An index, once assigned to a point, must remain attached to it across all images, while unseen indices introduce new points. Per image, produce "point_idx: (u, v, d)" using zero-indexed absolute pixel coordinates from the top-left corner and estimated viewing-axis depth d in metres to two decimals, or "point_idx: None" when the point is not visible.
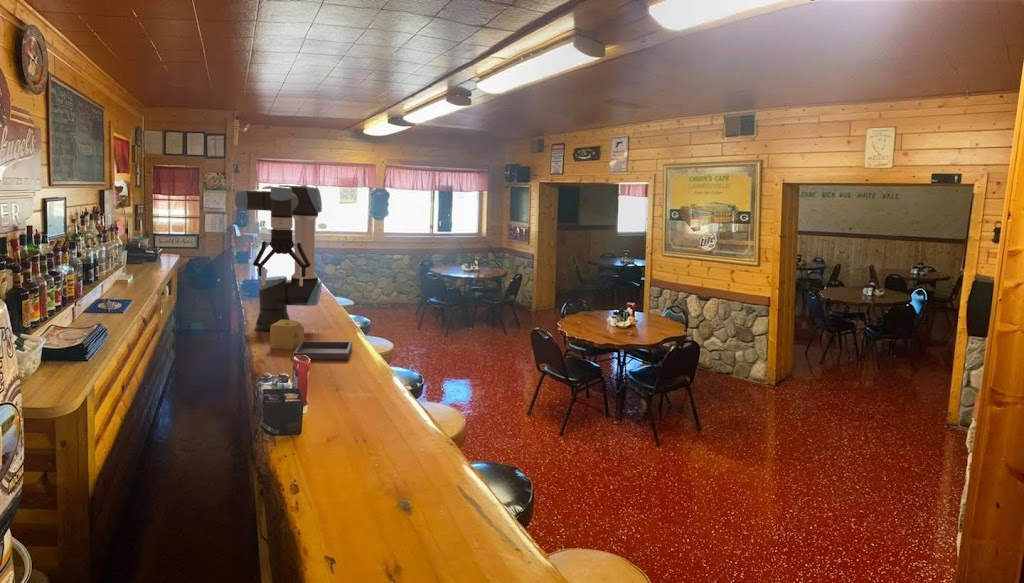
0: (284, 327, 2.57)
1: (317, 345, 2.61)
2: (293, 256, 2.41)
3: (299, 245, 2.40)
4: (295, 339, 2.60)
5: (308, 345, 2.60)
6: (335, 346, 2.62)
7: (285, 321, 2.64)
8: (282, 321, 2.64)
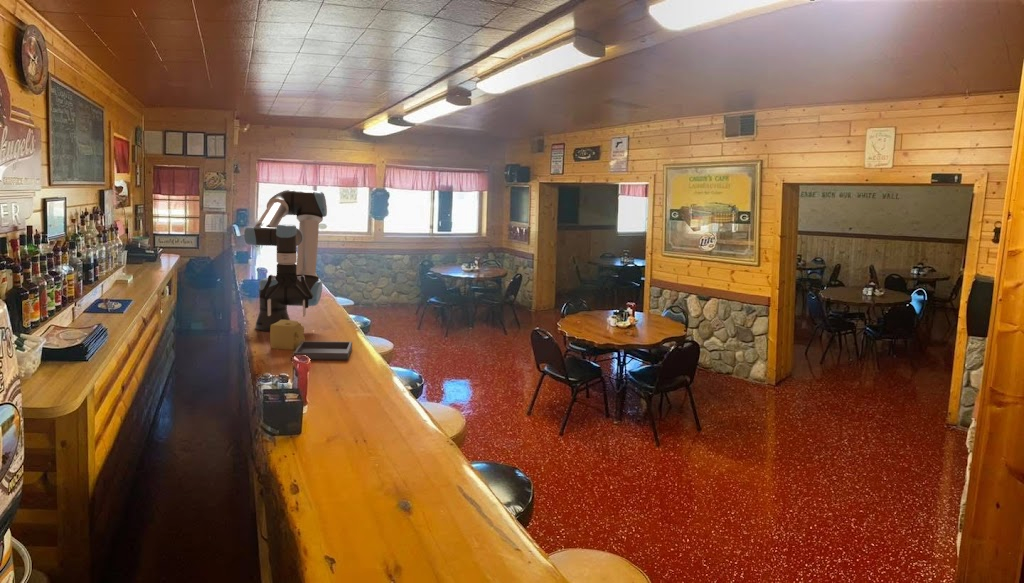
0: (284, 327, 2.57)
1: (317, 345, 2.61)
2: (297, 289, 2.58)
3: (303, 278, 2.58)
4: (295, 339, 2.60)
5: (308, 345, 2.60)
6: (335, 346, 2.62)
7: (285, 321, 2.64)
8: (282, 321, 2.64)
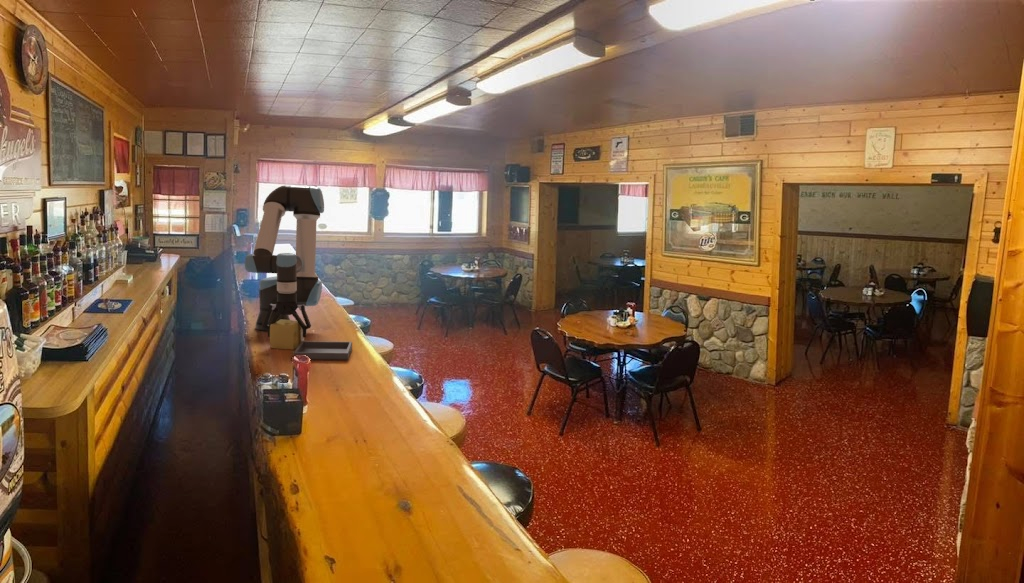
0: (284, 327, 2.57)
1: (317, 345, 2.61)
2: (296, 318, 2.60)
3: (303, 308, 2.60)
4: (295, 339, 2.60)
5: (308, 345, 2.60)
6: (335, 346, 2.62)
7: (285, 320, 2.64)
8: (282, 321, 2.63)
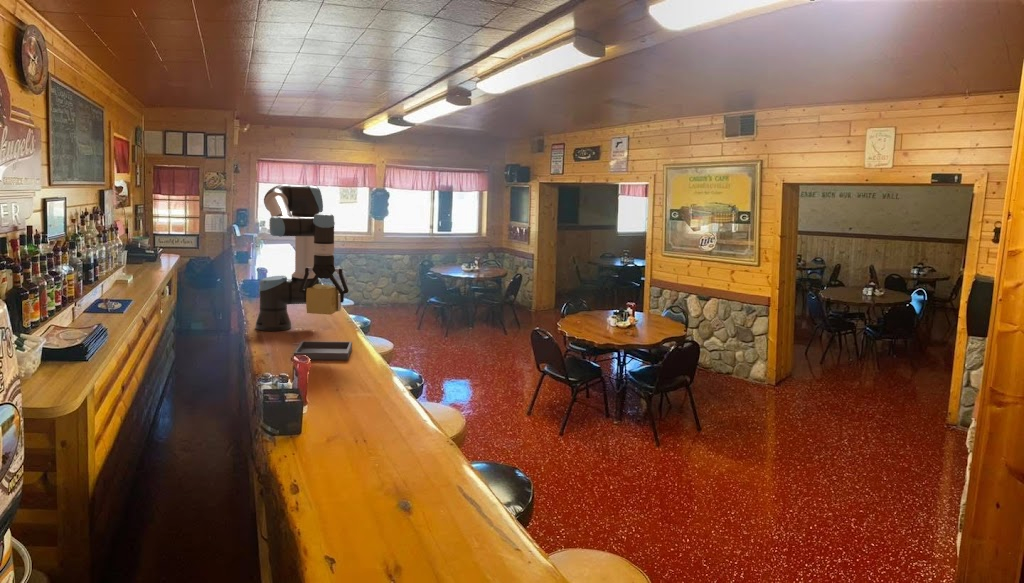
0: (321, 291, 2.45)
1: (317, 345, 2.61)
2: (333, 281, 2.49)
3: (340, 271, 2.48)
4: (332, 304, 2.48)
5: (308, 345, 2.60)
6: (335, 346, 2.62)
7: (321, 285, 2.52)
8: (318, 285, 2.51)
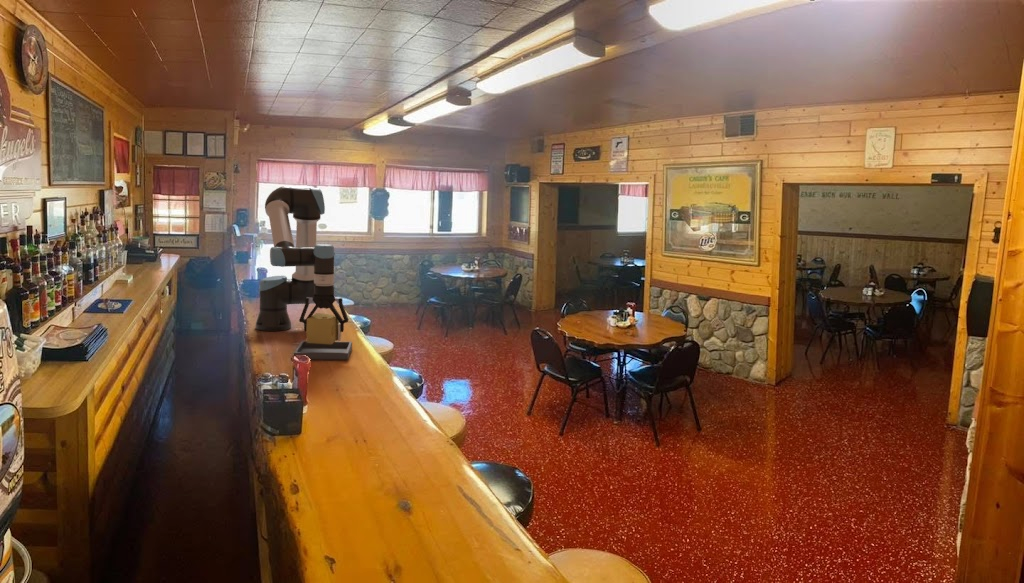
0: (321, 321, 2.47)
1: (317, 345, 2.61)
2: (333, 311, 2.50)
3: (340, 301, 2.50)
4: (332, 333, 2.50)
5: (308, 345, 2.60)
6: (335, 346, 2.62)
7: (321, 314, 2.54)
8: (318, 315, 2.53)
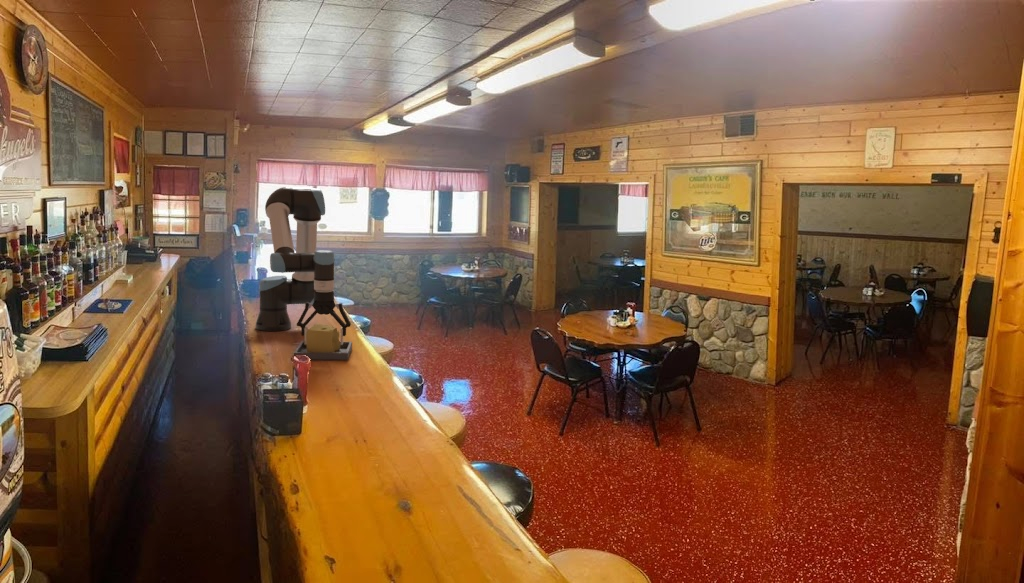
0: (321, 332, 2.48)
1: None
2: (335, 316, 2.51)
3: (340, 306, 2.51)
4: (332, 344, 2.51)
5: None
6: None
7: (320, 325, 2.55)
8: (317, 326, 2.54)
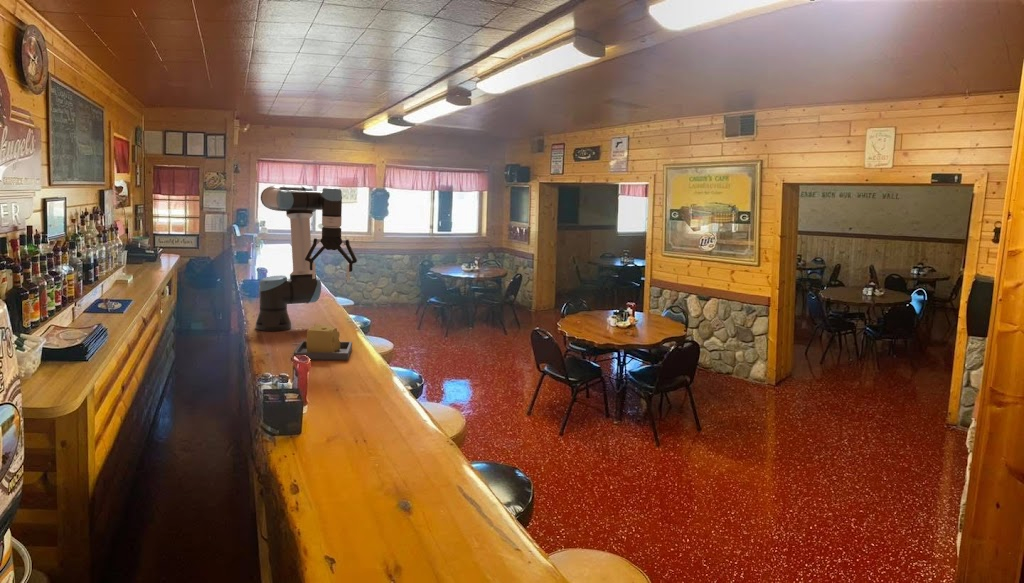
0: (321, 332, 2.48)
1: None
2: (342, 252, 2.60)
3: (347, 242, 2.60)
4: (332, 344, 2.51)
5: None
6: None
7: (320, 325, 2.55)
8: (317, 326, 2.54)
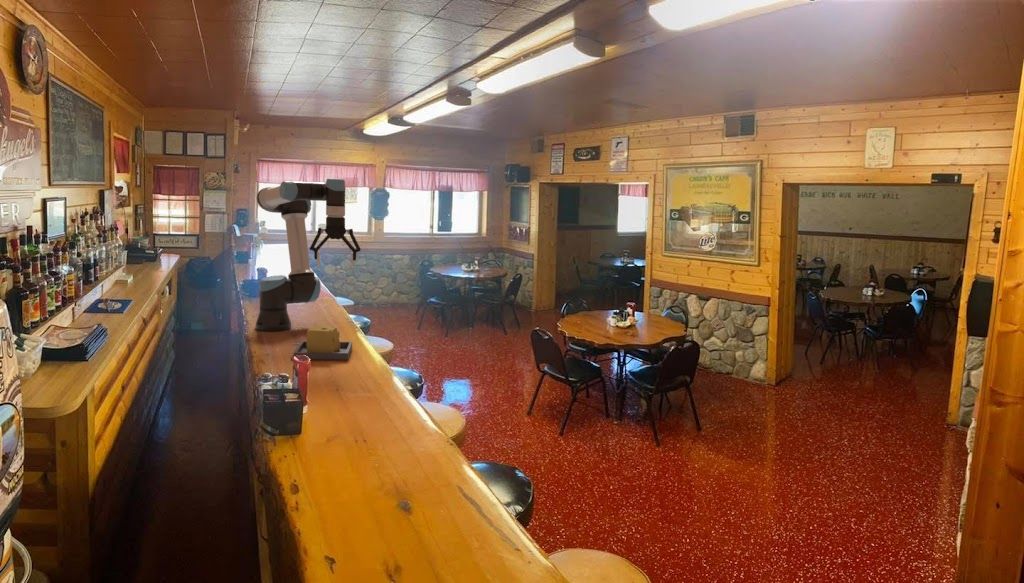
0: (321, 332, 2.48)
1: None
2: (345, 241, 2.66)
3: (351, 231, 2.66)
4: (332, 344, 2.51)
5: None
6: None
7: (320, 325, 2.55)
8: (317, 326, 2.54)
